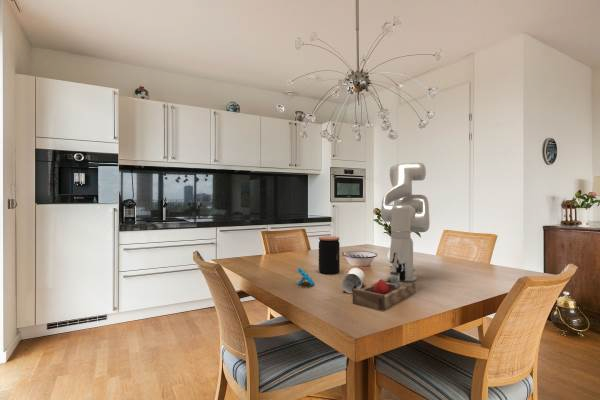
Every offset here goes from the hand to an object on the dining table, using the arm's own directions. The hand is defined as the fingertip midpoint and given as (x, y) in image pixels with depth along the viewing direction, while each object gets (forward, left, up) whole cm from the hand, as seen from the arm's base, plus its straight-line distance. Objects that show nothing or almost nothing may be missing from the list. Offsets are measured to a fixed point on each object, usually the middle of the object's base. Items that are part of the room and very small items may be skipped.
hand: (400, 280), depth 134 cm
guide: (+13, 0, -4) cm, 14 cm away
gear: (+18, -36, -5) cm, 40 cm away
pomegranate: (+17, 0, -5) cm, 17 cm away
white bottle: (+9, -17, -5) cm, 20 cm away
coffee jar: (-8, -42, -5) cm, 43 cm away
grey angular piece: (+6, 0, -4) cm, 7 cm away
